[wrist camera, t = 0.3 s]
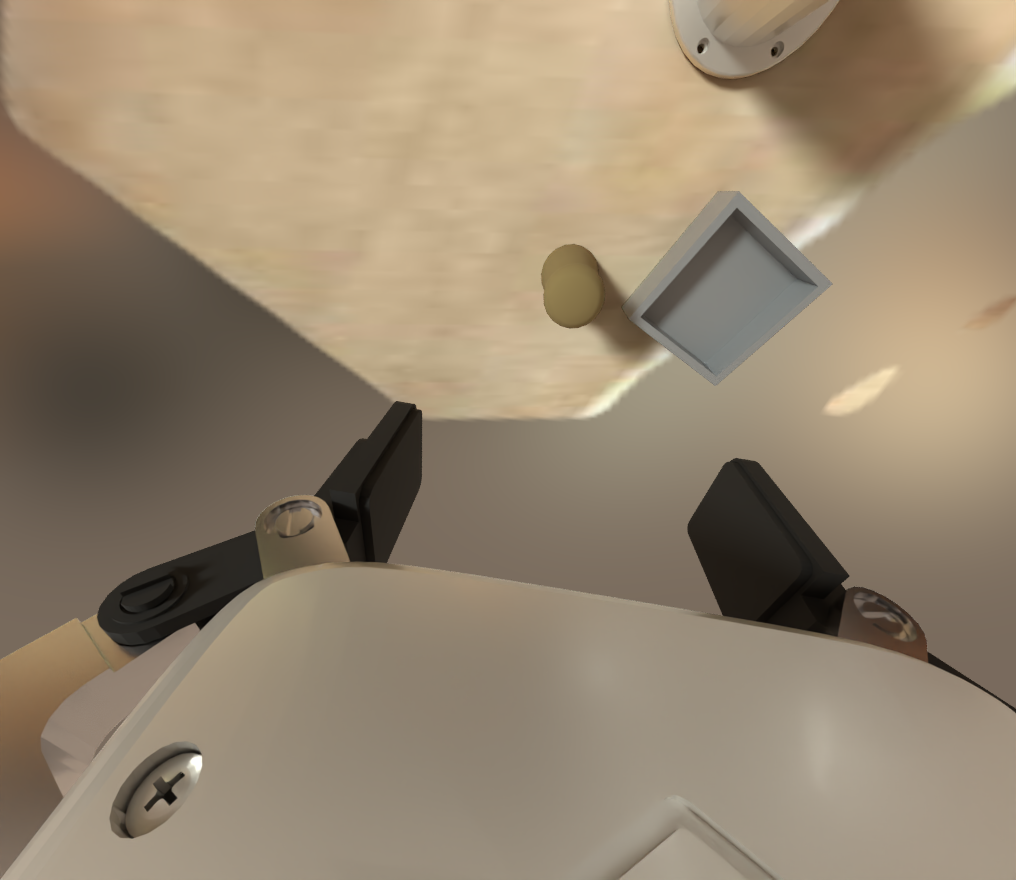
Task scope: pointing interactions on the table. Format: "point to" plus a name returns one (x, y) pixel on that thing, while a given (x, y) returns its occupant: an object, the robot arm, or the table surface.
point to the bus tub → (724, 288)
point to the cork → (572, 286)
